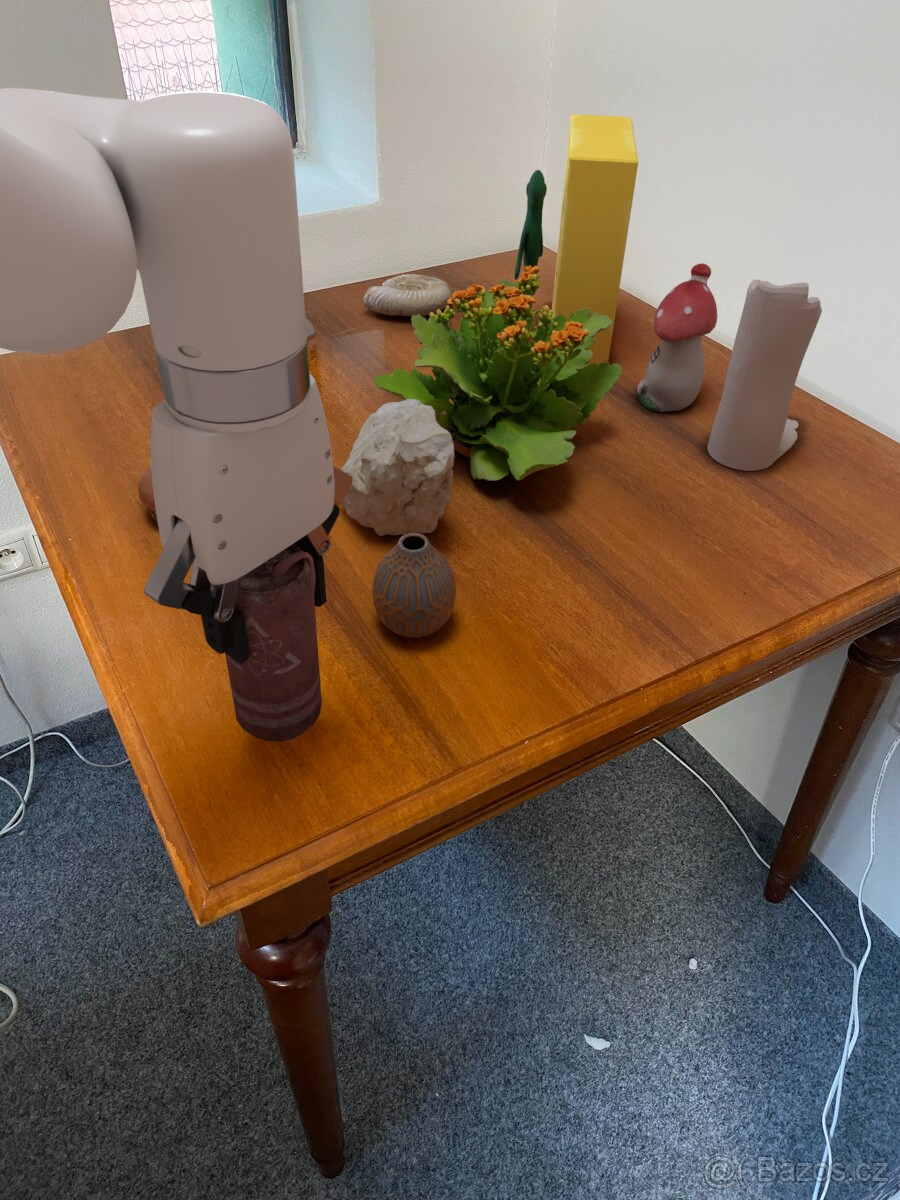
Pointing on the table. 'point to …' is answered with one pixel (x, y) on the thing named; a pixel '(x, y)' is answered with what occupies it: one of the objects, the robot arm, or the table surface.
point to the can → (278, 649)
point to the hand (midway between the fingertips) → (269, 621)
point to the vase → (414, 588)
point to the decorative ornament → (679, 344)
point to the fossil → (408, 296)
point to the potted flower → (507, 377)
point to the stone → (400, 470)
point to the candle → (763, 376)
